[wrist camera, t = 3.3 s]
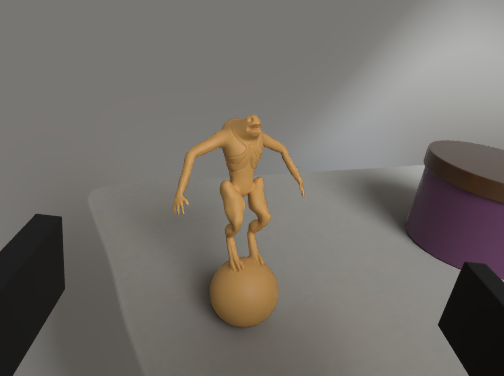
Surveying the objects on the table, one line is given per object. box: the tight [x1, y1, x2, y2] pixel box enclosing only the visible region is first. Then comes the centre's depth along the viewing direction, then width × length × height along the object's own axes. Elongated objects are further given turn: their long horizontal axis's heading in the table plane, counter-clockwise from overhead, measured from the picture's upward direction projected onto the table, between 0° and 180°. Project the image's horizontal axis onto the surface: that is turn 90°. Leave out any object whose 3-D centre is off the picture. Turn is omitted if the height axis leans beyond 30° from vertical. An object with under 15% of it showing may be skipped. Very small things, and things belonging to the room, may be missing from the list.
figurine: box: [174, 115, 304, 327], centre depth 23 cm, size 8×6×12 cm
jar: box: [405, 141, 504, 279], centre depth 37 cm, size 12×12×8 cm
